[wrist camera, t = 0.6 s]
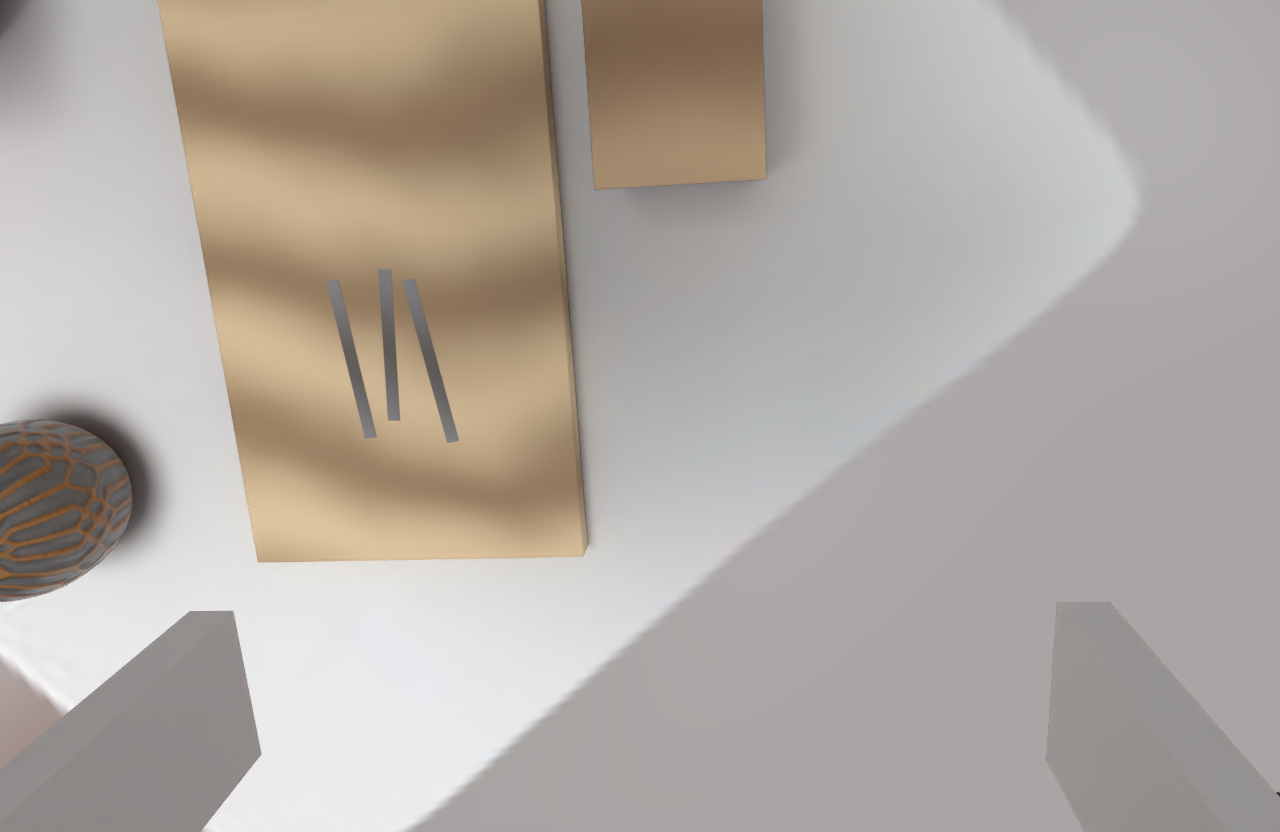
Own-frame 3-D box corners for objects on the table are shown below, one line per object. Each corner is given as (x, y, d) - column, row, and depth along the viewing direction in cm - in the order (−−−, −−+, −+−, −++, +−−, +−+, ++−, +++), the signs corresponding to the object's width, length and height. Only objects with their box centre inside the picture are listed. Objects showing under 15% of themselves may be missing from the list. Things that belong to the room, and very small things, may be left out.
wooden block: (610, -44, 32) (573, -114, 25) (751, -57, 32) (758, -132, 24) (624, 186, 34) (594, 189, 27) (757, 178, 34) (766, 178, 26)
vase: (191, 512, 39) (45, 603, 31) (74, 577, 41) (-96, 681, 32) (98, 375, 38) (-81, 431, 30) (-20, 447, 40) (-222, 520, 31)
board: (172, -21, 34) (152, -28, 33) (539, -54, 32) (532, -63, 31) (271, 551, 40) (257, 562, 38) (587, 545, 38) (583, 556, 37)
